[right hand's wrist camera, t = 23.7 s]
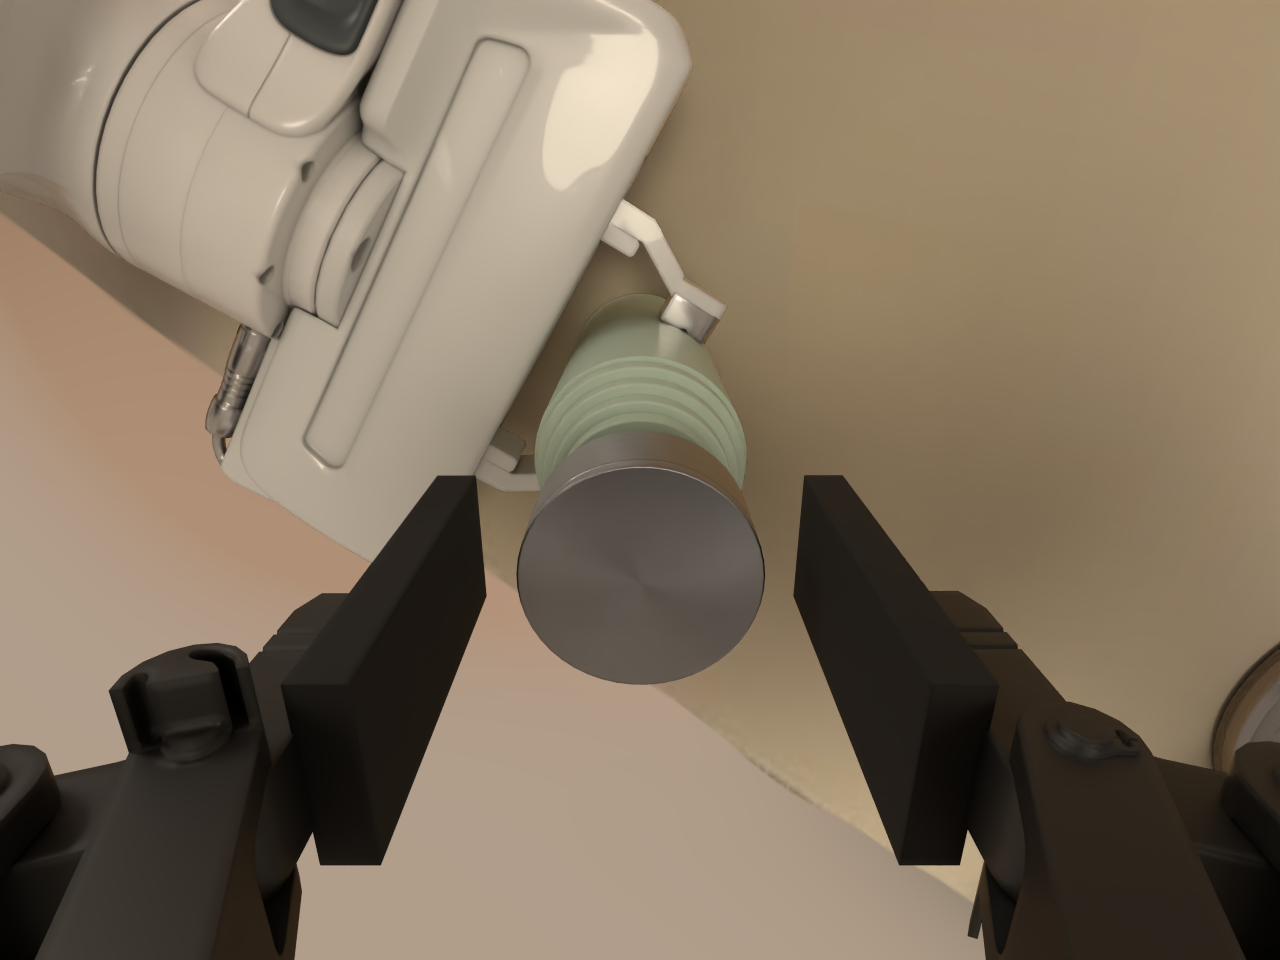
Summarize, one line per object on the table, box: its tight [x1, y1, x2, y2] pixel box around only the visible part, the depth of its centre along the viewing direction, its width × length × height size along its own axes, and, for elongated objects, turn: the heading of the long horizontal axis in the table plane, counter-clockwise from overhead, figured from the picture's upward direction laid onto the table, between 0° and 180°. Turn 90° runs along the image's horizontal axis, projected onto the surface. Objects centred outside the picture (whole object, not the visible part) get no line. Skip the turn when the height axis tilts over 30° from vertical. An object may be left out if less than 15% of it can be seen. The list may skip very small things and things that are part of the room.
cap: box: [517, 430, 765, 685], centre depth 14 cm, size 4×4×2 cm
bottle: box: [534, 294, 747, 491], centre depth 22 cm, size 6×6×19 cm
